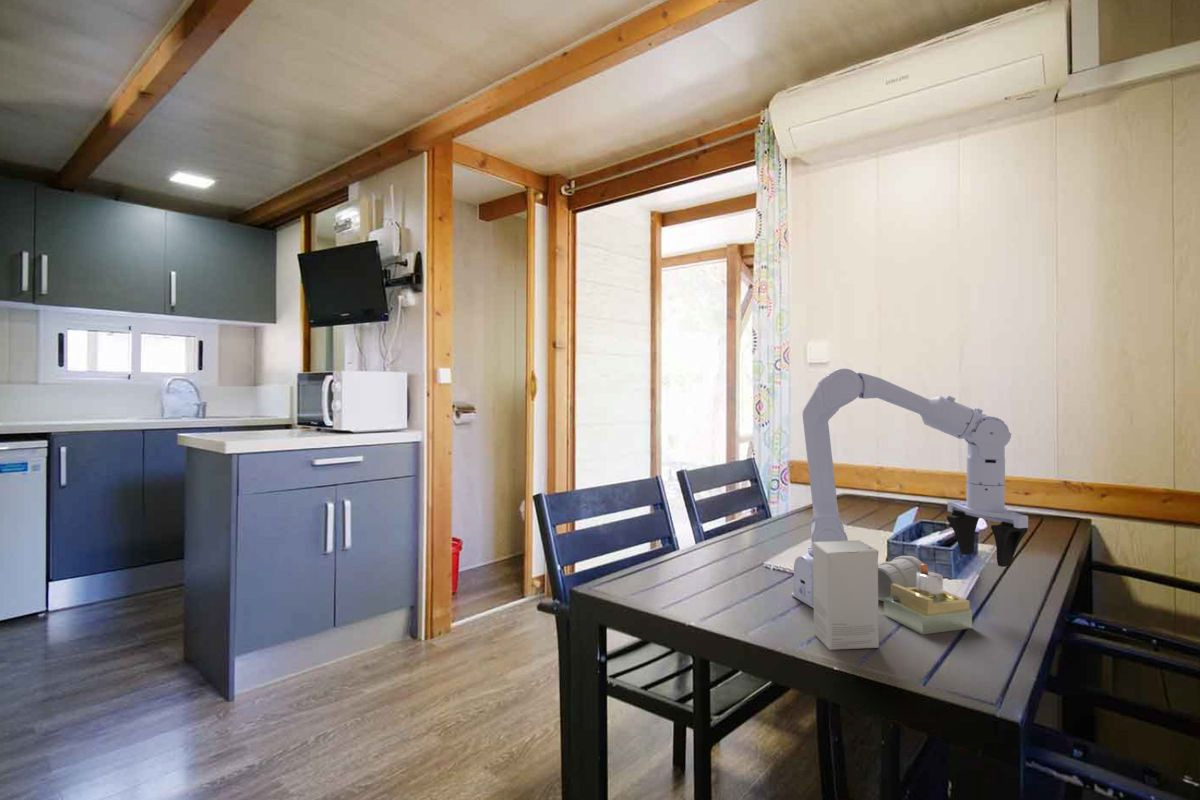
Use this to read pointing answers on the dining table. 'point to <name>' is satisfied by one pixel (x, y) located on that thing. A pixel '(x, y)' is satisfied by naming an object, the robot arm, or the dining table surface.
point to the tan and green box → (927, 611)
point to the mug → (897, 574)
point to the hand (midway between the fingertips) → (984, 559)
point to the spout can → (929, 584)
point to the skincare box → (846, 594)
